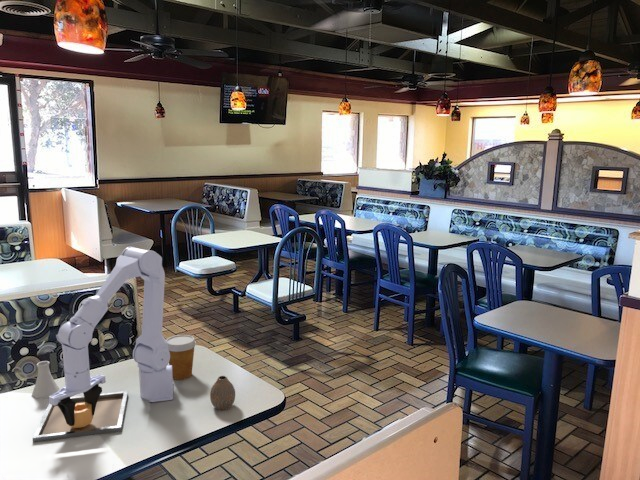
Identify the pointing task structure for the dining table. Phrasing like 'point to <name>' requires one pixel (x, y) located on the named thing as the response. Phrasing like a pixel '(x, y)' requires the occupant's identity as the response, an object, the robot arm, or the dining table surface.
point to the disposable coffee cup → (181, 355)
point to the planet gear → (82, 415)
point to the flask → (44, 382)
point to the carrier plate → (102, 417)
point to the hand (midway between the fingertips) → (80, 419)
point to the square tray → (80, 433)
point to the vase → (222, 393)
